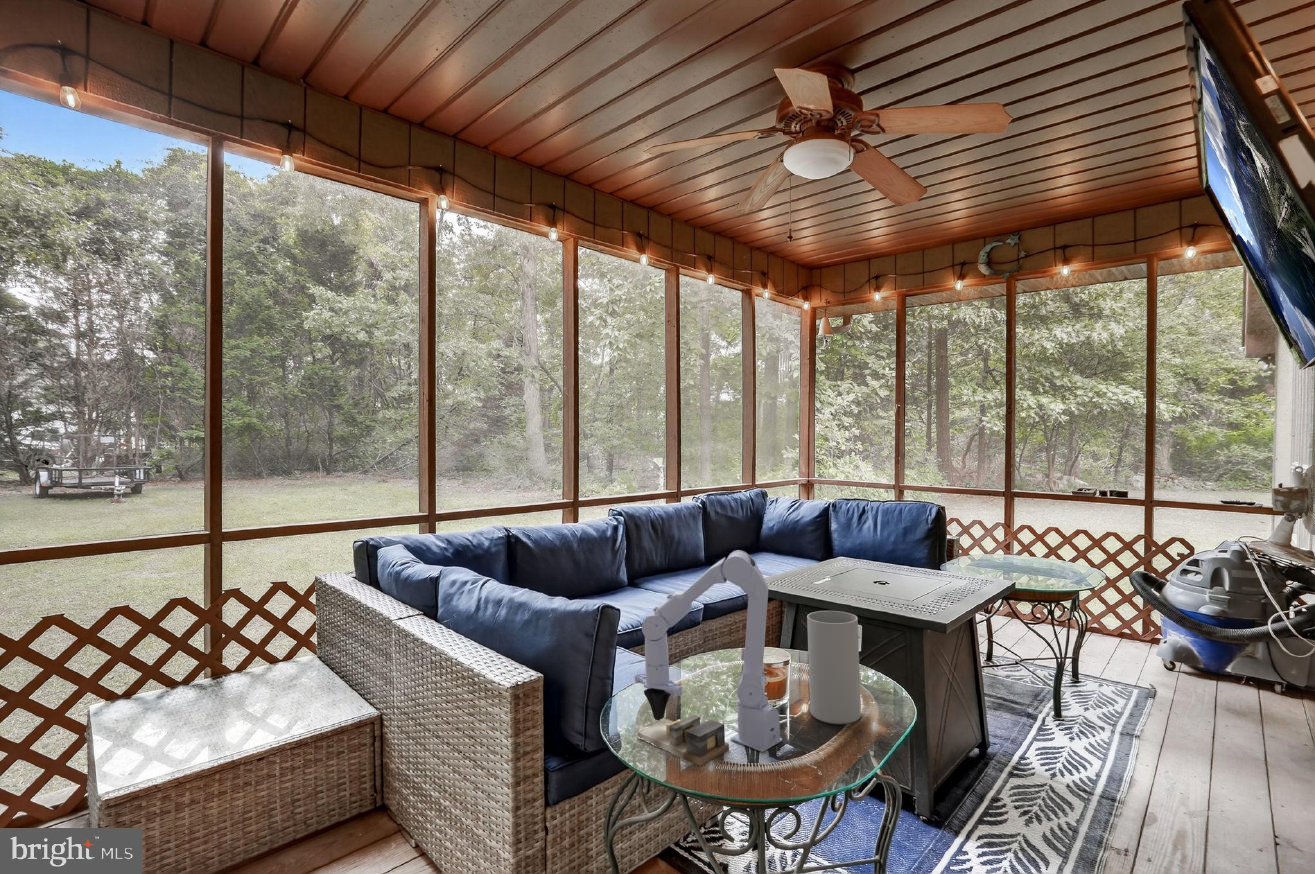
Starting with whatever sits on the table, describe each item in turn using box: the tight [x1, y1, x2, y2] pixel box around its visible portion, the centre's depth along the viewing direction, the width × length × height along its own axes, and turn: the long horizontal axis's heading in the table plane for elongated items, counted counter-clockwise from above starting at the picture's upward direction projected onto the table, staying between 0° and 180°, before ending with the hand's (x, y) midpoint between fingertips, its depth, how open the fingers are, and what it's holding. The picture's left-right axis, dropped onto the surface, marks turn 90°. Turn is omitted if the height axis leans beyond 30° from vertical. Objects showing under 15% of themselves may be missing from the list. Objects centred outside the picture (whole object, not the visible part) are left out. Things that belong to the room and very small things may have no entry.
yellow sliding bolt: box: [666, 718, 716, 751], centre depth 148 cm, size 12×4×2 cm, turn 44°
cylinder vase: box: [806, 610, 862, 725], centre depth 164 cm, size 12×12×25 cm
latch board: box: [637, 714, 730, 767], centre depth 151 cm, size 20×10×6 cm, turn 44°
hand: (659, 718), depth 157 cm, fingers closed
